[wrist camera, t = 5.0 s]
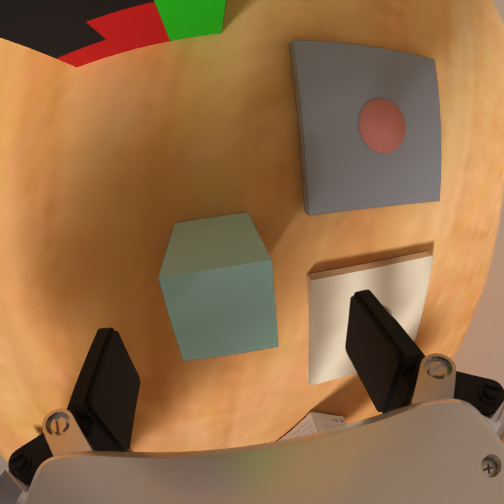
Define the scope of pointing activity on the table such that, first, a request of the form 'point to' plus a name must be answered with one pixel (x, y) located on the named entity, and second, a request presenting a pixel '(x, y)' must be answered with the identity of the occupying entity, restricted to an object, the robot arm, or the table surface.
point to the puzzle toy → (105, 25)
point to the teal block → (219, 287)
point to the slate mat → (366, 126)
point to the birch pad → (338, 302)
